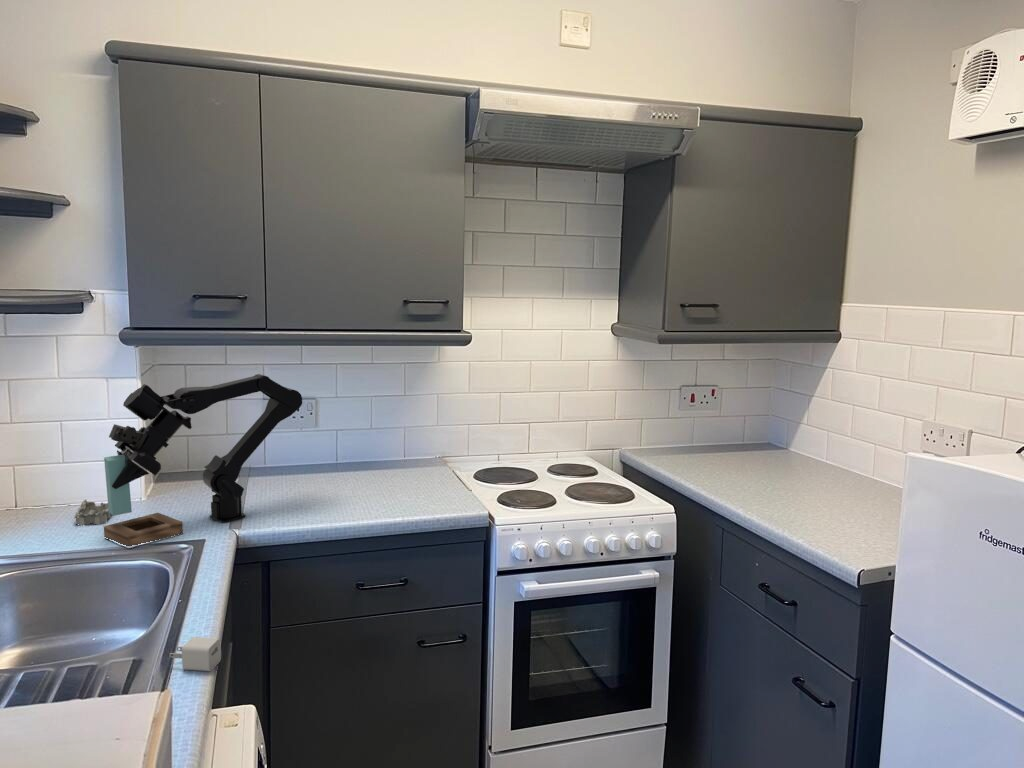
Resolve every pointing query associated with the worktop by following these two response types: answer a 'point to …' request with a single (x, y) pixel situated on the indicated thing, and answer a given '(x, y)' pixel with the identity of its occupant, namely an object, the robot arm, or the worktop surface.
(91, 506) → the miniature castle
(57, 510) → the worktop surface
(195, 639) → the usb wall charger
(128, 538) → the walnut box
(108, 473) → the teal post
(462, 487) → the worktop surface
